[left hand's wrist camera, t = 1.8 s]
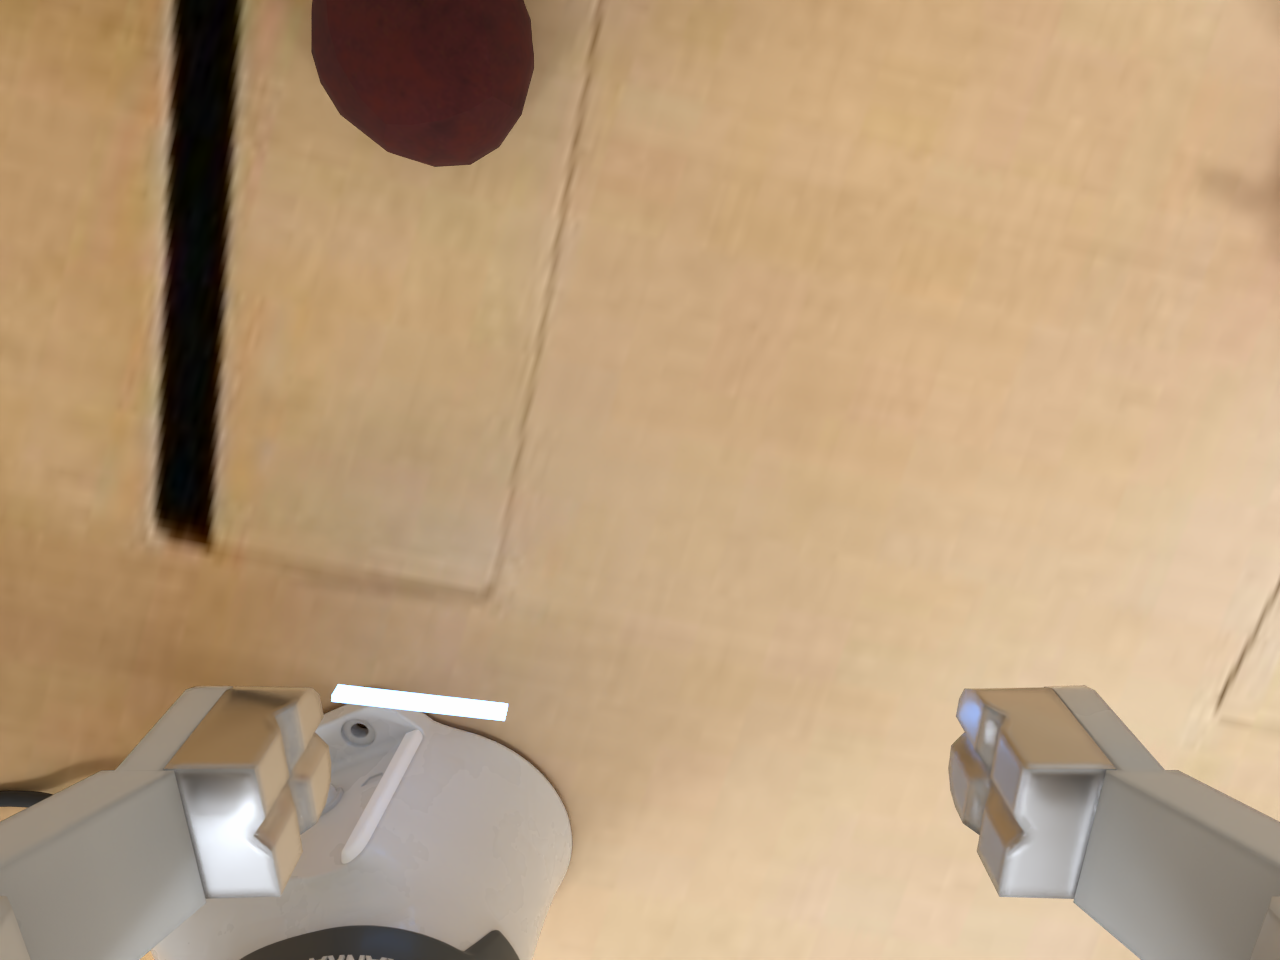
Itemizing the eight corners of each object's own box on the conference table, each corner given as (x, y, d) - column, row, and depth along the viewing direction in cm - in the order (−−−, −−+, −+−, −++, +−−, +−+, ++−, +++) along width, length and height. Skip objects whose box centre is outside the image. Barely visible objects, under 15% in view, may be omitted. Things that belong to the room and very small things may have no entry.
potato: (506, -90, 29) (465, -166, 23) (572, 137, 32) (554, 129, 25) (315, -24, 30) (222, -77, 23) (395, 193, 33) (332, 199, 26)
